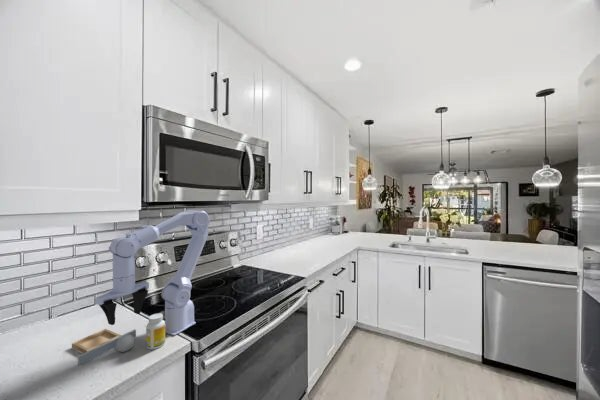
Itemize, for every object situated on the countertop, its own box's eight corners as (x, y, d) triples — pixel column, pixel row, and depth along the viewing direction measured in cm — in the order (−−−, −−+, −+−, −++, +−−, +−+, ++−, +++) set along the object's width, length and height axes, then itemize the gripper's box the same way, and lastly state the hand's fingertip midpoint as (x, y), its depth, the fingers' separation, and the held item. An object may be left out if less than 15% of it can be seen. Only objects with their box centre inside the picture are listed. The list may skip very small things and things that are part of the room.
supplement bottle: (143, 350, 80) (142, 320, 79) (151, 340, 85) (150, 312, 85) (161, 349, 80) (160, 319, 80) (168, 339, 86) (167, 311, 85)
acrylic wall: (134, 336, 88) (134, 329, 87) (136, 336, 87) (135, 329, 87) (78, 364, 73) (77, 356, 73) (79, 365, 73) (79, 356, 73)
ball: (129, 344, 83) (128, 329, 83) (138, 348, 81) (137, 333, 81) (112, 352, 79) (112, 337, 79) (122, 356, 77) (121, 341, 76)
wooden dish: (105, 333, 90) (105, 328, 90) (121, 339, 85) (121, 335, 85) (71, 348, 81) (71, 343, 81) (87, 356, 77) (87, 351, 77)
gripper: (139, 267, 87) (140, 306, 88) (89, 280, 74) (90, 326, 75) (152, 270, 84) (153, 310, 85) (103, 284, 71) (104, 331, 72)
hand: (125, 318), depth 80 cm, fingers open, 7 cm apart
